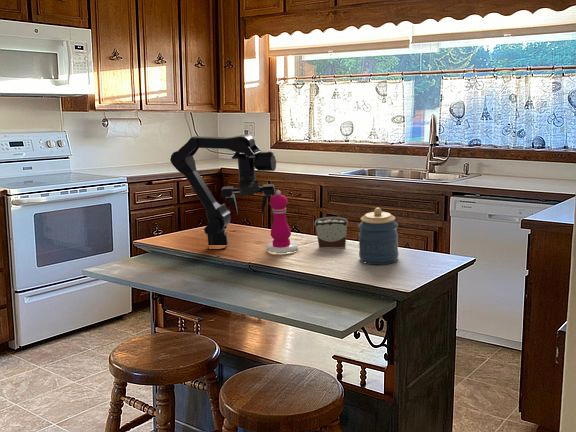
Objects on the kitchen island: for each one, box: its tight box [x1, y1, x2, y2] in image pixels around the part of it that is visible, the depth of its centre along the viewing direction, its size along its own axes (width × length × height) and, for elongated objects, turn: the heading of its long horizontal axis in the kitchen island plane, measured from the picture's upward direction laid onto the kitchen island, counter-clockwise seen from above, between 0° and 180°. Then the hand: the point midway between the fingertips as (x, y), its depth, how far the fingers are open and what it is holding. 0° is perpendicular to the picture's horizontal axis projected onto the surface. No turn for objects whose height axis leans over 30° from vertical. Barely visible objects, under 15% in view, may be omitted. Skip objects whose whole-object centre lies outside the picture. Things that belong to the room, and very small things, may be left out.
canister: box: [357, 207, 399, 265], centre depth 212 cm, size 13×13×18 cm
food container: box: [313, 216, 350, 249], centre depth 231 cm, size 12×6×10 cm, turn 84°
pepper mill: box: [269, 189, 292, 248], centre depth 226 cm, size 7×7×20 cm
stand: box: [266, 240, 299, 253], centre depth 229 cm, size 11×11×2 cm
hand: (249, 214), depth 230 cm, fingers open, 9 cm apart
